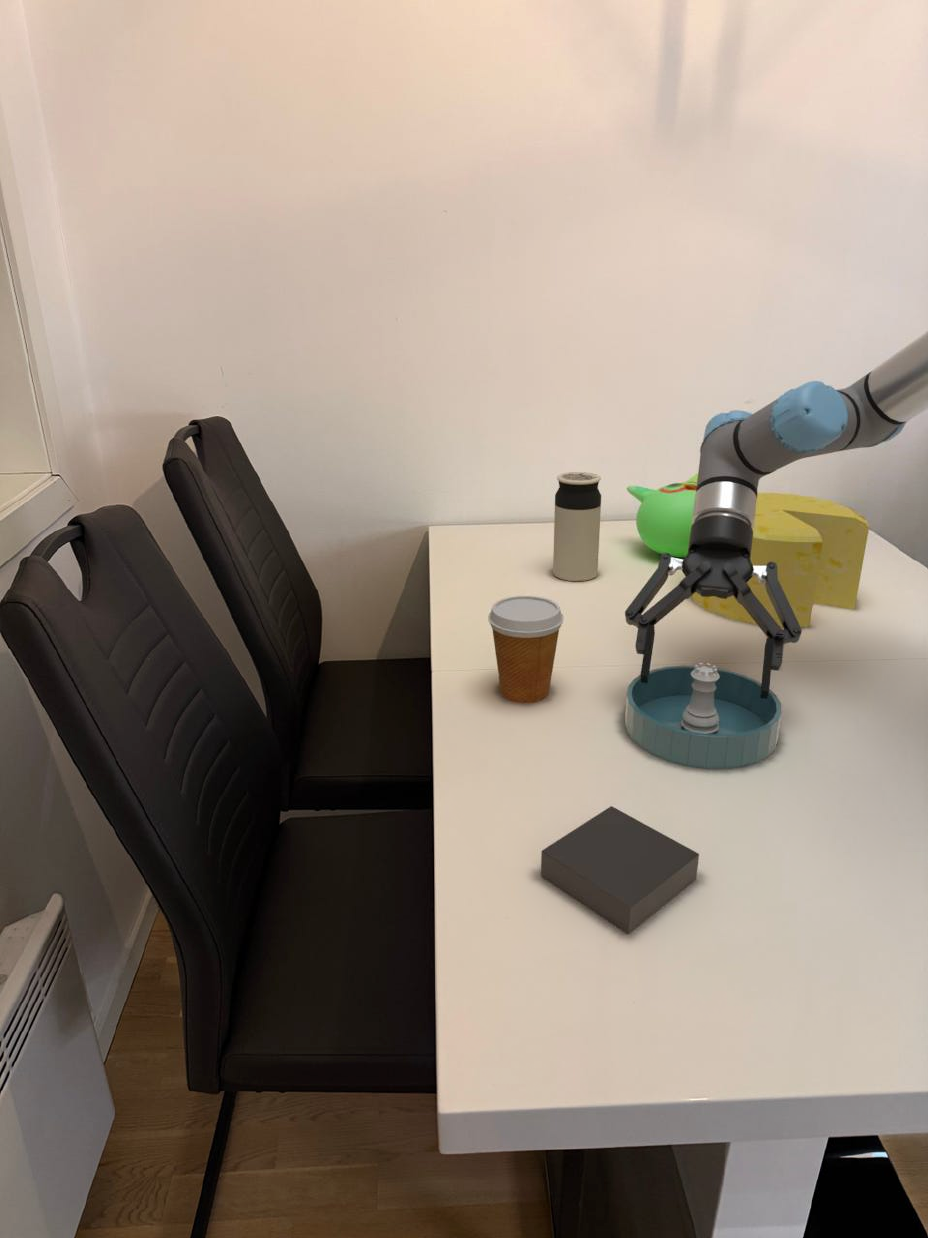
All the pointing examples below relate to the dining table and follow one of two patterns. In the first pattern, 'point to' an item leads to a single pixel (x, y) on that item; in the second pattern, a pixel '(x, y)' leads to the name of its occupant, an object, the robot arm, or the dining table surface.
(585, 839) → the stand
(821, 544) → the cheese
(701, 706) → the rook chess piece
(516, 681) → the disposable coffee cup
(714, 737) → the tin
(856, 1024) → the dining table surface
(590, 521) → the travel mug
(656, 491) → the toy bird
